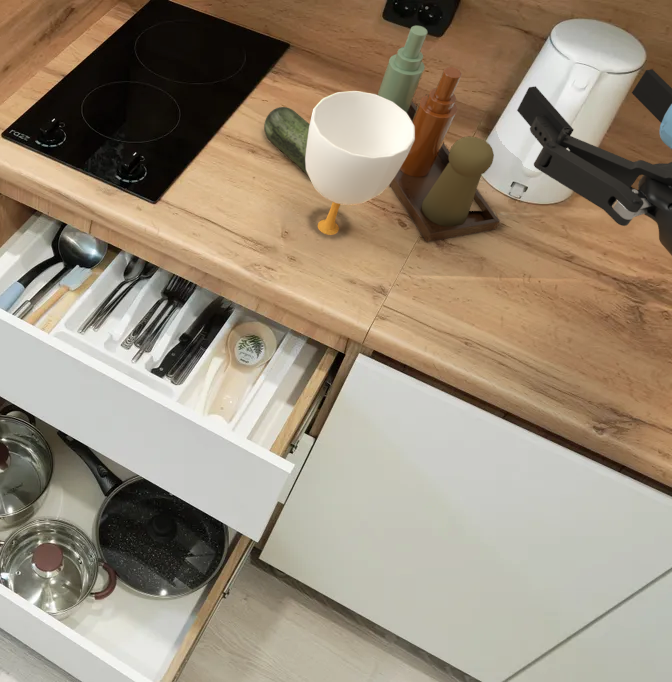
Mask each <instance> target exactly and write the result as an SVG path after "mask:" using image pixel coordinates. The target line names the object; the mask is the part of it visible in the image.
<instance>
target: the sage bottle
mask: <svg viewBox="0 0 672 682" xmlns="http://www.w3.org/2000/svg"><path fill="white" fill-rule="evenodd" d="M427 36H428V29H426V27H424V26H421V25H413V26H411V27H410V30H409V32H408V35H407V38H406V41H405V44H404V46H402V47H400V48H398V50H397V52H396V53H395V54H393V55H391V56H390V57H389V60H388V62H387V65H386V68H385V71H384V74H383V76H382V78H381V79H382V80H381V83H380V85H379V88H378V91H377V94H376V95H378V96H380V97H383V98H385V99H387V100H390V101H392V102H394V103H395V104H396V105H397V106H399V107H400V108H401V109H402V110H404V111H405V112H406V113H408V110H409V107H410V105H411V102H412V101H413V99H414V97H415V95H416V92H417V90H418V86H419V85H420V81H421V79H422V78H423V77H422V76H423V73H424V72H425V68H426V67H425V64H424V62H423V59H424V54H423V52H422V49H423V47H424V43H425V41H426V38H427Z"/></svg>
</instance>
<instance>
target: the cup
mask: <svg viewBox="0 0 672 682" xmlns="http://www.w3.org/2000/svg"><path fill="white" fill-rule="evenodd" d="M309 124H310V125H309V131H308V139H307V147H306V156H305V163H306V171H307V173H308V175H307V176H308V177H309V178H308V179H309V180H310V182H311V184H312V186H313V188H314V190H315V191H317V193H318V194H320V195H321V196H322V198H325V199H326V200H329V201H331V206H330V209H329V211H328V214H327V216H326V218H325V219H321V220H320V221H318V223H317V228H318V230H319V231H320V232H321V233H322V234H324V235H328V236H332V235H336V234H337V233H338V232H339V230H340V227H339V225H338V224H337V222H336V220H337V216H338V212H339V209H340V207H341V205H345V206H354V205H362V204H364V203H367V202H369V201H371V200H373V199H375V198H377V197H378V196H380V195H382V194H383V193H384V192H385V190H386V189H387V188H388V187H390V185H389V184H390V183H391V182H392V180H393V179H394V177H395V176H396V174H397V173H398V171H399V169H400V168H401V166H402V164H403V163H404V161H405V159H406V157H407V155H408V153H409V151H410V149H411V147H412V145H413V143H414V141H415V126H414V124H413V123H412V121H411V119H410V118H409V116H408V114H407V113H406V112H405V111H404V110H402V109H401V108H400V107H399V106H397V105H396V104H395V103H394V102H392V101H390V100H387V99H385V98H383V97H380V96H378V95H377V94H376V93H370V92H365V91H358V90H350V91H337V92H334V93H332V94H330V95H327V96H325V97H323V98H321V100H319V102H318V103H317V104H316V105H315V106H314V108H312V113H311V117H310V121H309Z"/></svg>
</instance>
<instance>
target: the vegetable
mask: <svg viewBox="0 0 672 682" xmlns="http://www.w3.org/2000/svg"><path fill="white" fill-rule="evenodd" d="M263 125H264V126H263V128H264V129H263V132H264V134H265V136H266V138H267V139H268V141H269V142H270V143H272V144H273V145H274V146H275V147H276V148H277V149H278V150H280V151H281V152H282V153H283V154H285V155H286V156H287V157H288V158H289V159H290V160H291V161H292V162H293V163H294V164H296V165H297V166H298V167H299V168H300V169H301V170H302V171H303V172H304V173H305V174H306V175H307V176H308V173H307V171H306V163H305V156H306V147H307V139H308V131H309V125H310V122H308V121H307V120H305V119H304V118H303V117H302V116H301V115H300V114H299V113H297V112H296V111H295V110H294V109H292V108H290V107H287V106H280V107H276V108H274V109H273V110H271V111H270V112H269V113H268V115H267V116H266V118H265V120H264V123H263Z"/></svg>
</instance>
